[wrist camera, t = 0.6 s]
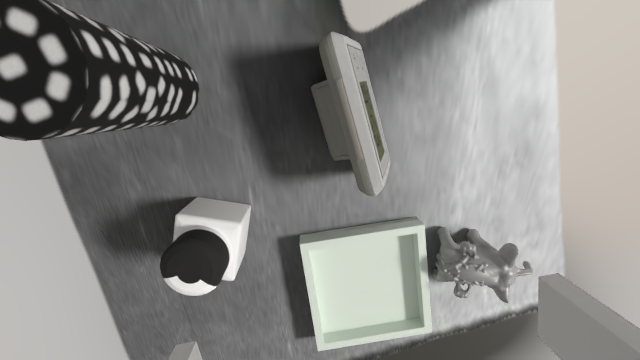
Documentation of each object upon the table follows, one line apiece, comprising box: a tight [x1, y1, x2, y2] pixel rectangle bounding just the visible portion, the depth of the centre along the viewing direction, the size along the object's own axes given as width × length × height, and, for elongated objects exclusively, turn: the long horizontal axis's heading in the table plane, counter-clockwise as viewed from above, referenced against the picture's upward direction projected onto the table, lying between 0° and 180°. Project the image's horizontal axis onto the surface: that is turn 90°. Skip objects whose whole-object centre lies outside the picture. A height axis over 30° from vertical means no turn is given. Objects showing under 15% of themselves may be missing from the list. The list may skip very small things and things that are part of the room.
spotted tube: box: [0, 0, 199, 141], centre depth 27 cm, size 8×8×20 cm
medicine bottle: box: [160, 197, 251, 296], centre depth 35 cm, size 7×7×12 cm
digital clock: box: [311, 32, 390, 196], centre depth 34 cm, size 16×9×11 cm, turn 6°
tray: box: [300, 217, 432, 351], centre depth 43 cm, size 16×16×3 cm
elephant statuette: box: [432, 227, 533, 303], centre depth 41 cm, size 9×12×8 cm
